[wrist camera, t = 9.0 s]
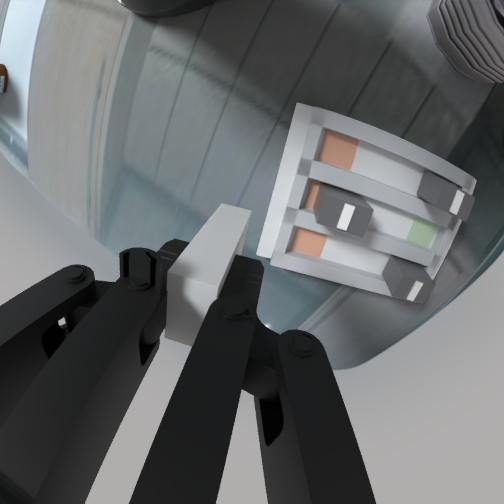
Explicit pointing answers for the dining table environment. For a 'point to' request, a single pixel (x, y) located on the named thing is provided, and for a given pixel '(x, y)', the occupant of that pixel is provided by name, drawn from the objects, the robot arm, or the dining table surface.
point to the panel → (361, 183)
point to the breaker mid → (342, 210)
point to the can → (471, 36)
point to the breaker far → (407, 280)
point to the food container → (3, 78)
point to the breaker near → (445, 196)
